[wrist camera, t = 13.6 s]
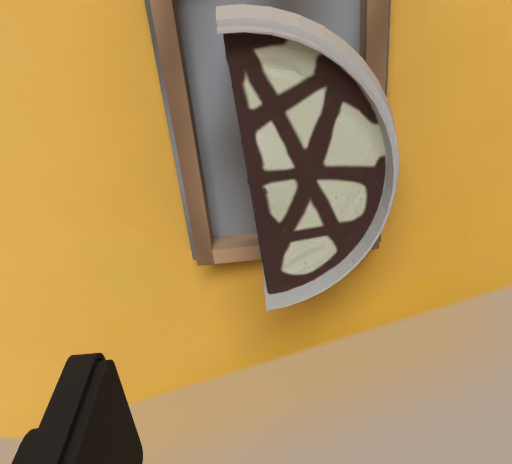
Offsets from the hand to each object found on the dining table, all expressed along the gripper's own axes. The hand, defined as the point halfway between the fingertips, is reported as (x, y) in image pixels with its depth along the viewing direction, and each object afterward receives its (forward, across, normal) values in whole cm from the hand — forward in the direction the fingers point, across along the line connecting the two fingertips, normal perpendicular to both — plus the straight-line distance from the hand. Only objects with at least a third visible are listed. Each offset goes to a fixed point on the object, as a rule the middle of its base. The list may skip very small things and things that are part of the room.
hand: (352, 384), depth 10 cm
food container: (+20, -1, 0) cm, 20 cm away
